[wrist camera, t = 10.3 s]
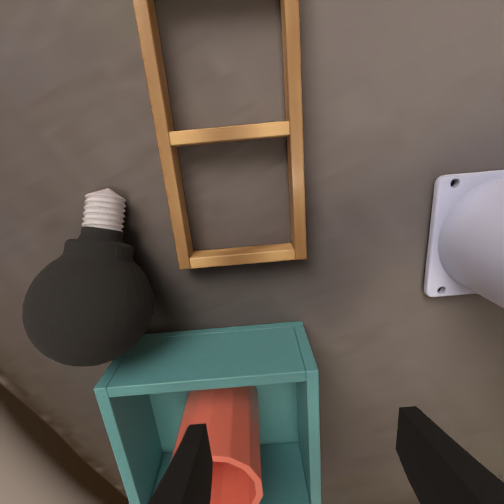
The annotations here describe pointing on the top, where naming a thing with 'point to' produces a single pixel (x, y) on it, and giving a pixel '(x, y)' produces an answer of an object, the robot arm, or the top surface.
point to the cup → (229, 441)
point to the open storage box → (214, 377)
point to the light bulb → (90, 292)
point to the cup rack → (173, 139)
